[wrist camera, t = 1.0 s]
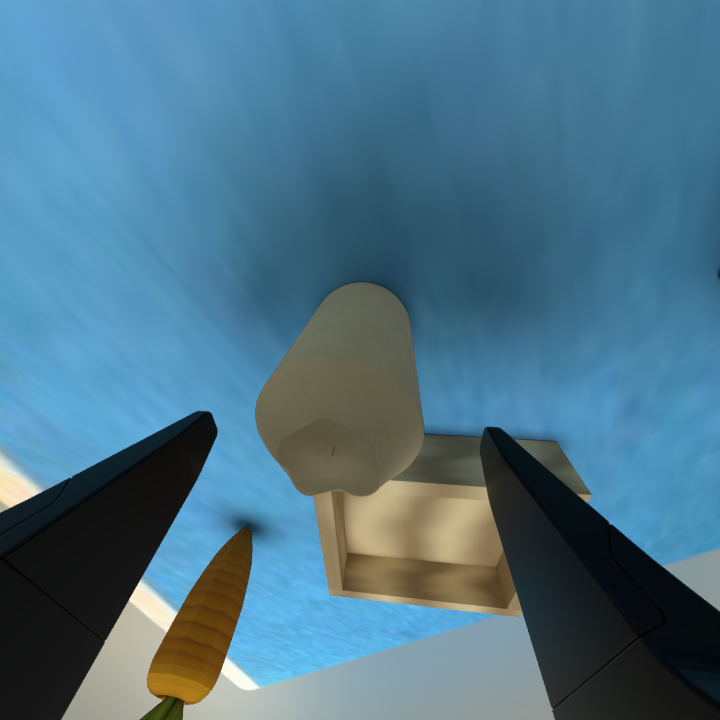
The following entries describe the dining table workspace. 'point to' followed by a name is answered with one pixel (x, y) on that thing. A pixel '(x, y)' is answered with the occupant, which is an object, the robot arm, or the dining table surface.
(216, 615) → the carrot
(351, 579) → the box
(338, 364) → the candle
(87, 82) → the dining table surface
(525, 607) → the robot arm
